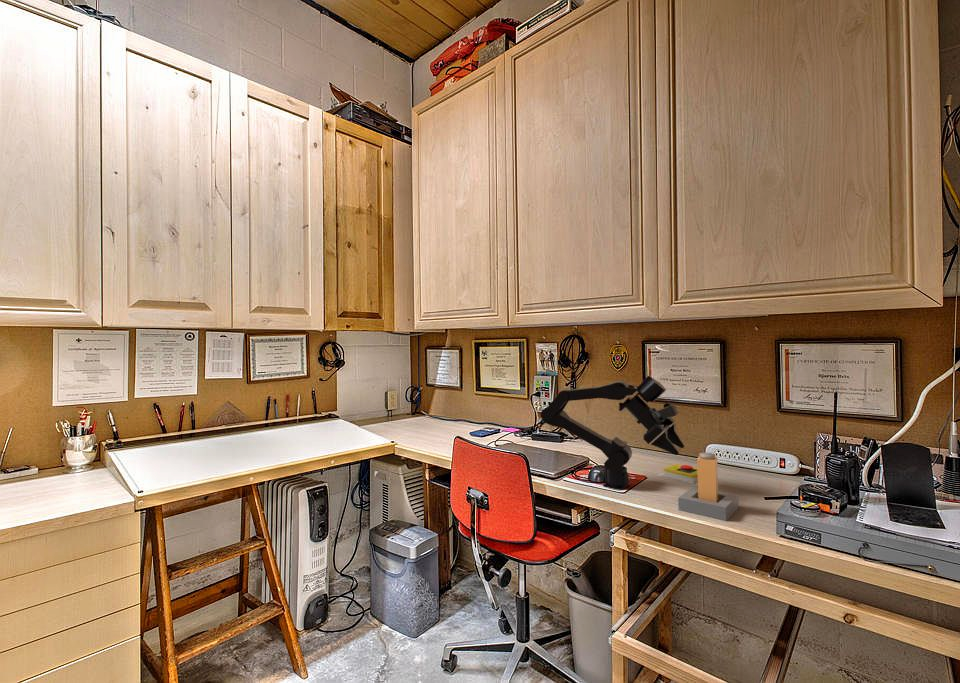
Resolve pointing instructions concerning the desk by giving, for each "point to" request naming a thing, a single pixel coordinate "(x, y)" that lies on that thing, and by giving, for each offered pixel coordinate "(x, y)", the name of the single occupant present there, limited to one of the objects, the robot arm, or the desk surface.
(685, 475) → the emergency button
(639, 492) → the desk surface
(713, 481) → the orange bar
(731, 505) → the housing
